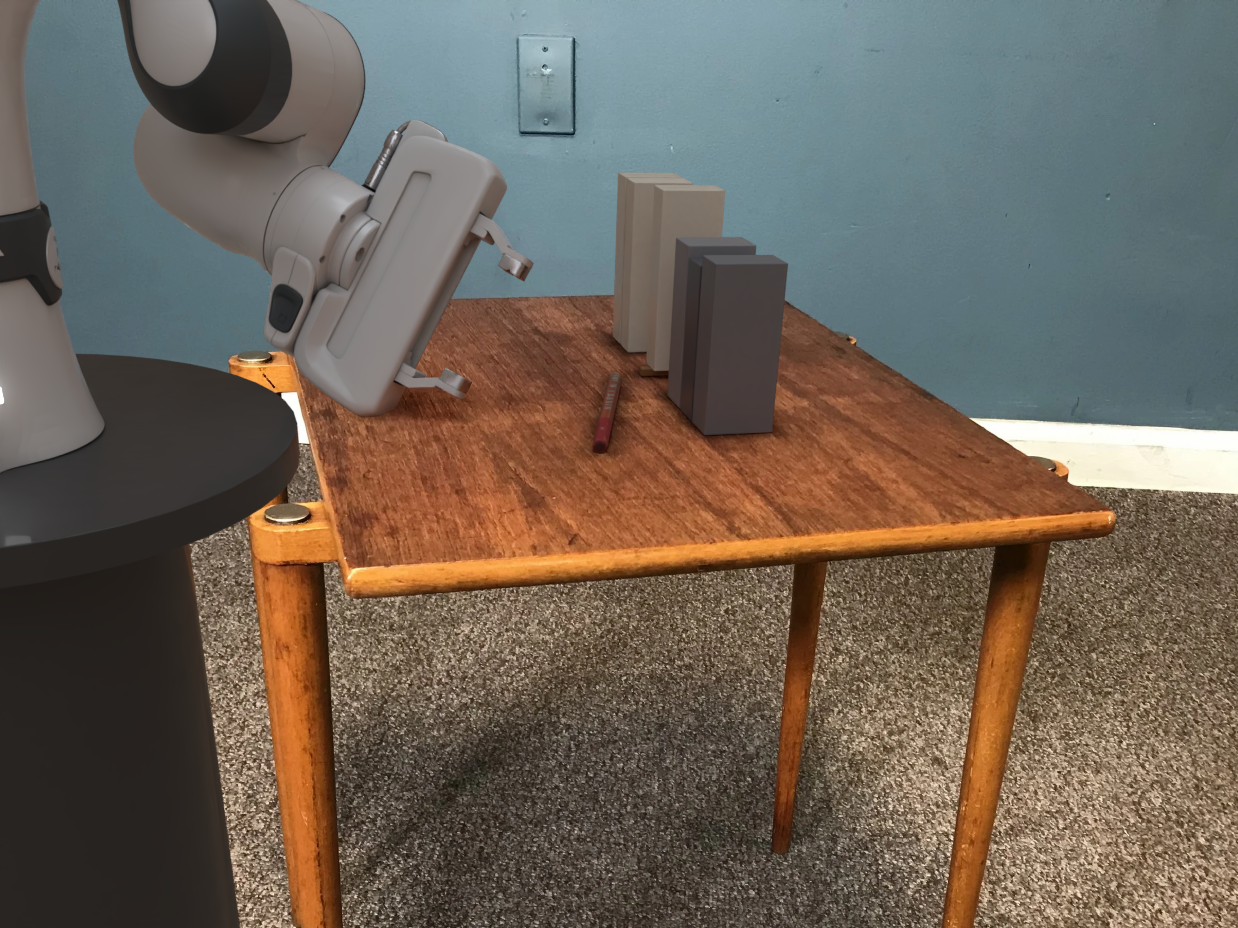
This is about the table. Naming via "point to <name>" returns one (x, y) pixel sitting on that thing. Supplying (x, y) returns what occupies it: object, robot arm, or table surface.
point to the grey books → (726, 334)
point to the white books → (635, 258)
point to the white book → (672, 218)
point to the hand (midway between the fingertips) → (496, 331)
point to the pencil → (607, 413)
